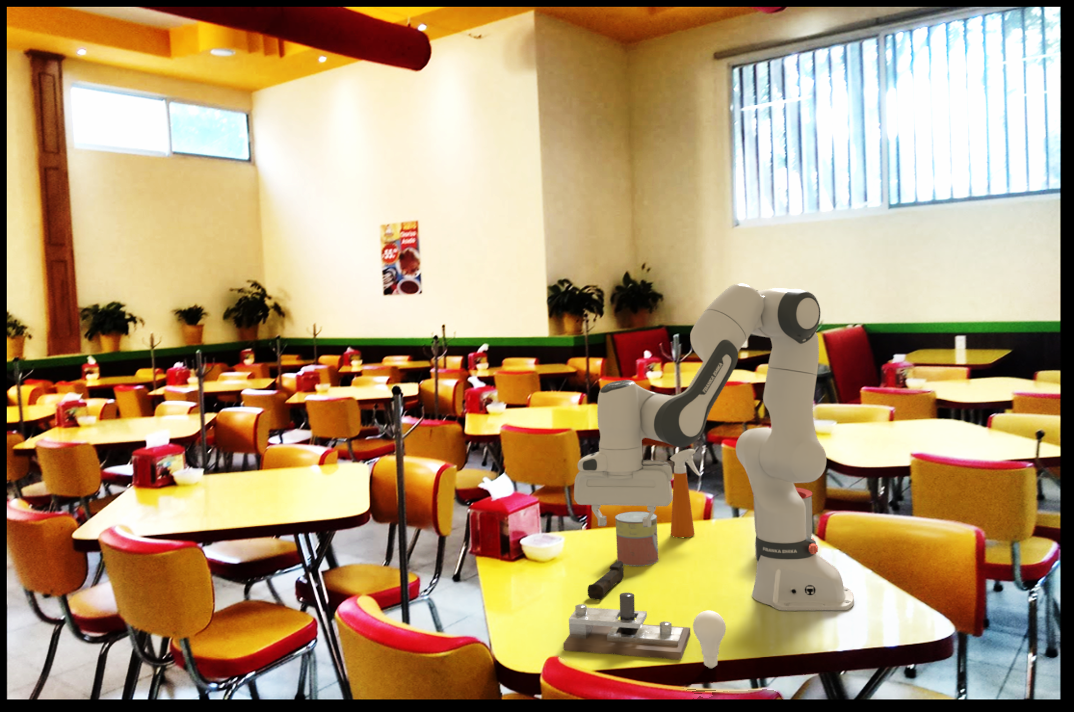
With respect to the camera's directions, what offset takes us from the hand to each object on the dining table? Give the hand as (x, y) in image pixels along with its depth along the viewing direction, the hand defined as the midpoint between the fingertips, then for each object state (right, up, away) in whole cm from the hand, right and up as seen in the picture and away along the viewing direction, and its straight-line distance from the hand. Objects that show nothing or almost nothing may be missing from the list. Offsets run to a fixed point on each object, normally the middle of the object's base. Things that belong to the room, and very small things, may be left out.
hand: (624, 525), depth 178 cm
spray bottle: (+27, -18, +77) cm, 83 cm away
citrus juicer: (+49, -19, +54) cm, 75 cm away
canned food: (+9, -21, +56) cm, 61 cm away
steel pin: (+1, -23, 0) cm, 23 cm away
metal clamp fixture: (0, -23, 0) cm, 23 cm away
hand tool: (-1, -23, +35) cm, 42 cm away
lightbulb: (+15, -25, -14) cm, 32 cm away
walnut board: (+1, -24, 0) cm, 24 cm away
